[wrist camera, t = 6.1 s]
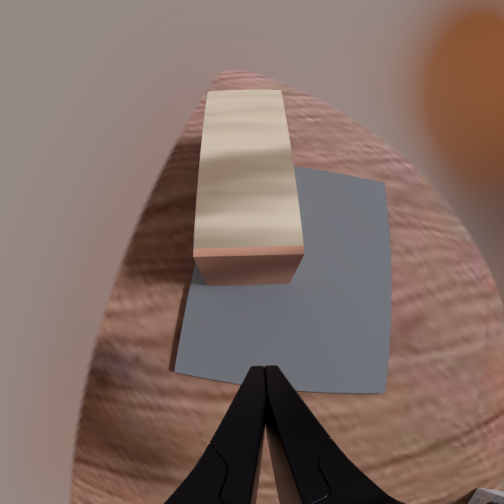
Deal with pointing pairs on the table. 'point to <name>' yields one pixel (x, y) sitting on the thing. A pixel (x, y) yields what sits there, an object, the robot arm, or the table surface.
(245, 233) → the beech block
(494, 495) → the light bulb box
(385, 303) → the slate mat
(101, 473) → the table surface
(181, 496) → the robot arm
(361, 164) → the table surface
